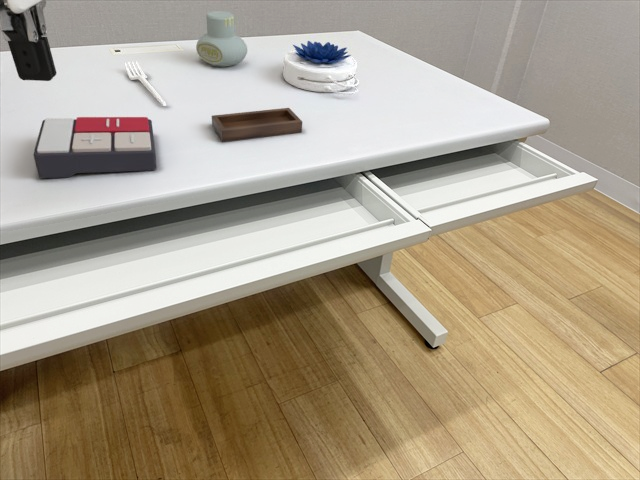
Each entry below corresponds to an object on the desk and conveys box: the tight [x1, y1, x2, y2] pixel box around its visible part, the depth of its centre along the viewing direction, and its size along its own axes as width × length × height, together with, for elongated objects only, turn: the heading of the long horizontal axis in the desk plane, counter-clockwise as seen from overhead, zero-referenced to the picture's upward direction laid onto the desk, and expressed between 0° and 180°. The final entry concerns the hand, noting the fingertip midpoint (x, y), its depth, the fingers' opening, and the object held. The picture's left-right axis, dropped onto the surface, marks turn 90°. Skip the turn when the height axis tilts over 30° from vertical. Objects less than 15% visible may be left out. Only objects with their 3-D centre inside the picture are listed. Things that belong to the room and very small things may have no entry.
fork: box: [124, 60, 168, 107], centre depth 90 cm, size 3×20×2 cm, turn 33°
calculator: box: [33, 116, 157, 179], centre depth 68 cm, size 11×4×15 cm
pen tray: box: [211, 107, 303, 143], centre depth 80 cm, size 14×6×2 cm, turn 115°
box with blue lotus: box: [282, 40, 360, 95], centre depth 99 cm, size 7×16×20 cm
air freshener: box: [195, 10, 248, 68], centre depth 102 cm, size 11×8×10 cm
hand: (38, 77), depth 50 cm, fingers closed
